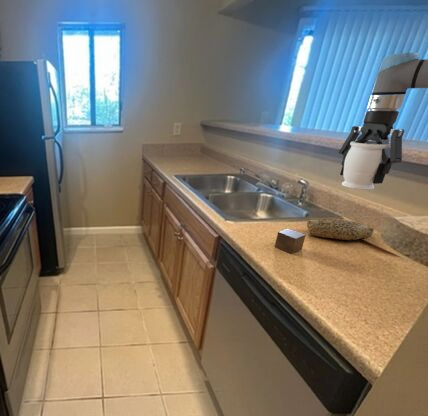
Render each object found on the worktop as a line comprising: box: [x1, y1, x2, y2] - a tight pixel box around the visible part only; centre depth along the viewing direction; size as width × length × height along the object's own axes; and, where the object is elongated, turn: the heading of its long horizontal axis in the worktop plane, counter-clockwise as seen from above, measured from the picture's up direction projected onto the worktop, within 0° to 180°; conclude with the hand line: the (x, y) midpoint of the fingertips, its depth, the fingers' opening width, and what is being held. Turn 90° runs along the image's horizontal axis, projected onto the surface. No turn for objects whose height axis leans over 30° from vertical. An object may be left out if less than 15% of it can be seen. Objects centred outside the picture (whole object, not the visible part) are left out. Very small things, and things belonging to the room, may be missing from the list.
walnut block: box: [274, 228, 307, 255], centre depth 96 cm, size 6×6×6 cm
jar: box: [341, 140, 390, 191], centre depth 92 cm, size 11×10×15 cm
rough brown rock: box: [306, 218, 374, 241], centre depth 104 cm, size 13×8×20 cm
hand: (359, 178), depth 93 cm, fingers closed on jar, 10 cm apart
